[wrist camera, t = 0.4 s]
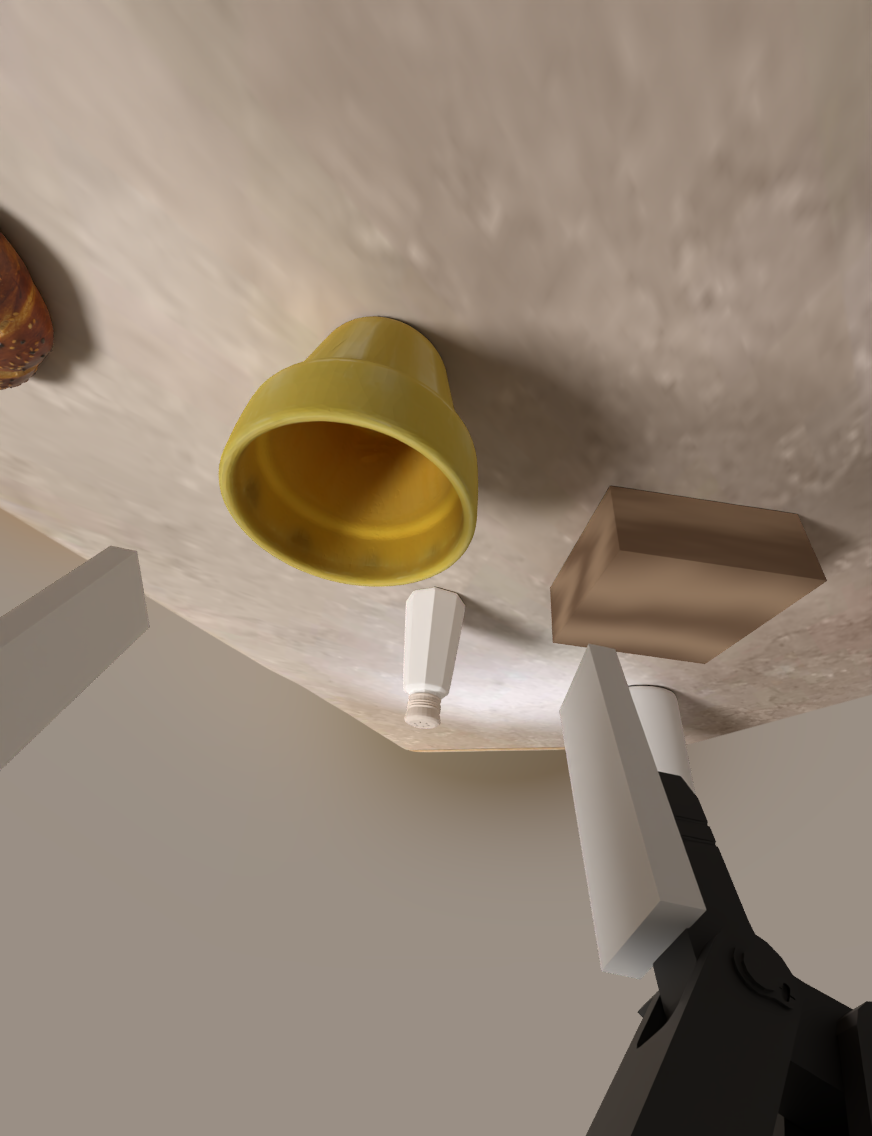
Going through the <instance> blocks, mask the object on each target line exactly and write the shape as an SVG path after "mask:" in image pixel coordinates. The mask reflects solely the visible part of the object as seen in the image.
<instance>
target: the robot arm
mask: <svg viewBox="0 0 872 1136" xmlns="http://www.w3.org/2000/svg"><path fill="white" fill-rule="evenodd" d="M149 627H150V625H149V619H148V614H147V607H146V602H145V596H144V590H143V584H142V578H141V572H140V566H139V560H138V554H137V551H134V550H129V549H124V548H119V547H114V546H110V547H108V548H106V549H105V550H103V551H102V552H100V553H99V554H97V555H96V556H94V557H93V558H91V559H89V560H88V561H86V562H85V563H83V564H82V565H80V566H79V567H77V568H76V569H74V570H73V571H71V572H69V573H68V574H66V575H65V576H64V577H62V578H60V579H59V580H57V581H56V582H54V583H53V584H51V585H50V586H48V587H46V588H45V589H43V590H42V591H40V592H39V593H37V594H36V595H34V596H32V597H31V598H29V599H28V600H26V601H25V602H23V603H22V604H20V605H19V606H17V607H15V608H14V609H12V610H11V611H9V612H8V613H6V614H5V615H3V616H2V617H0V770H1V769H2V768H3V767H4V766H5V765H7V763H9V762H10V761H11V760H12V759H13V758H14V757H15V756H16V755H17V754H18V753H19V752H20V751H21V750H22V749H23V748H24V747H25V746H26V745H27V744H28V743H29V742H31V741H32V739H34V738H35V737H36V735H38V734H39V733H40V732H41V731H42V730H43V729H44V728H45V727H46V726H47V725H48V724H49V723H50V722H51V721H52V720H53V719H54V718H55V717H57V716H58V715H59V714H60V713H61V712H62V711H63V710H64V709H65V708H66V707H67V706H68V705H69V704H70V703H71V702H72V701H73V700H74V699H75V698H76V697H77V696H78V695H79V694H81V693H82V692H83V691H84V690H85V689H86V688H87V687H88V686H89V685H90V684H91V683H92V682H93V681H94V680H95V679H96V678H97V677H98V676H99V675H100V674H101V673H102V672H103V671H104V670H105V669H107V668H108V667H109V665H111V664H112V663H113V662H114V661H115V660H116V659H117V658H118V657H119V656H120V655H121V654H122V653H123V652H124V651H125V650H126V649H127V648H128V647H129V646H131V645H132V644H133V643H134V642H135V641H136V640H137V639H138V638H139V637H140V636H141V635H142V634H143V633H144V632H145V631H146V630H147V629H148V628H149ZM559 713H560V719H561V725H562V731H563V737H564V743H565V749H566V755H567V762H568V768H569V774H570V780H571V786H572V792H573V799H574V805H575V811H576V817H577V823H578V830H579V836H580V842H581V848H582V854H583V860H584V867H585V873H586V879H587V885H588V891H589V897H590V904H591V909H592V915H593V922H594V928H595V934H596V940H597V947H598V952H599V959H600V965H601V971H603V972H608V973H613V974H617V975H623V976H627V977H632V978H637V979H641V978H642V977H643V976H644V975H645V974H646V973H647V972H648V971H649V970H650V969H651V968H652V967H654V971H655V976H656V980H657V984H658V988H659V991H658V992H657V993H656V994H655V995H654V996H653V997H652V998H651V999H650V1000H649V1001H648V1002H646V1003H645V1004H644V1005H643V1007H642V1008H641V1009H640V1010H639V1011H638V1013H639V1014H640V1015H641V1016H642V1017H643V1019H642V1021H641V1023H640V1025H639V1027H638V1029H637V1031H636V1034H635V1036H634V1038H633V1040H632V1042H631V1044H630V1046H629V1048H628V1050H627V1052H626V1054H625V1056H624V1058H623V1060H622V1062H621V1064H620V1067H619V1069H618V1071H617V1073H616V1075H615V1077H614V1079H613V1081H612V1083H611V1085H610V1087H609V1089H608V1091H607V1093H606V1095H605V1097H604V1099H603V1101H602V1104H601V1106H600V1108H599V1110H598V1112H597V1114H596V1116H595V1118H594V1120H593V1122H592V1124H591V1126H590V1128H589V1130H588V1132H587V1135H586V1136H872V1002H865V1003H863V1004H862V1005H860V1006H858V1007H857V1008H855V1009H851V1008H849V1007H847V1006H846V1005H844V1004H842V1003H840V1002H838V1001H836V1000H835V999H833V998H831V997H829V996H827V995H826V994H824V993H822V992H820V991H818V990H817V989H815V988H813V987H811V986H809V985H807V984H805V983H804V982H802V981H801V980H799V979H798V978H796V977H795V976H793V975H792V973H791V972H790V970H789V968H788V967H787V965H786V964H785V962H784V961H783V959H782V958H781V957H780V956H779V954H778V953H777V952H776V951H775V950H773V948H772V947H771V946H770V945H769V944H768V943H767V942H765V941H764V940H763V939H761V938H760V937H758V936H757V935H755V933H754V931H753V929H752V927H751V925H750V923H749V921H748V919H747V916H746V914H745V911H744V909H743V906H742V904H741V902H740V899H739V897H738V894H737V892H736V890H735V887H734V885H733V882H732V880H731V877H730V875H729V872H728V870H727V868H726V865H725V863H724V860H723V858H722V856H721V853H720V851H719V848H718V847H716V845H715V842H716V841H715V838H714V836H713V834H712V831H711V829H710V827H709V826H707V819H706V817H705V814H704V812H703V809H702V807H701V804H700V802H699V800H698V798H697V796H696V795H695V794H694V792H693V791H692V790H691V789H690V787H689V786H688V785H687V783H686V782H685V781H684V779H683V778H682V777H681V776H679V775H674V774H669V773H664V772H659V771H658V770H657V767H656V765H655V762H654V759H653V756H652V753H651V750H650V747H649V745H648V742H647V739H646V736H645V733H644V730H643V727H642V725H641V722H640V719H639V716H638V713H637V710H636V707H635V705H634V702H633V699H632V696H631V693H630V690H629V687H628V685H627V682H626V679H625V676H624V673H623V670H622V667H621V665H620V662H619V659H618V656H617V653H616V650H615V649H612V648H607V647H603V646H598V645H593V644H588V646H587V649H586V651H585V653H584V655H583V658H582V660H581V662H580V665H579V667H578V669H577V672H576V674H575V676H574V678H573V681H572V683H571V685H570V688H569V690H568V692H567V694H566V697H565V699H564V701H563V704H562V706H561V708H560V710H559Z"/></svg>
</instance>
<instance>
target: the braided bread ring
mask: <svg viewBox="0 0 872 1136" xmlns="http://www.w3.org/2000/svg"><path fill="white" fill-rule="evenodd" d="M53 338H54V330H53V327H52V322H51V318H50V315H49V312H48V310H47V307H46V305H45V303H44V301H43V299H42V297H41V295H40V293H39V291H38V290H37V288H36V286H35V285H34V283H33V281H32V279H31V277H30V274H29V272H28V270H27V268H26V266H25V264H24V263H23V261H22V259H21V258H20V257H19V255H18V254H17V252H16V251H15V250H14V248H13V247H12V246H11V244H10V243H9V242H8V240H7V239H6V238H5V237H4V235H3V234H2V233H1V232H0V390H3V389H6V388H9V387H10V388H12V387H16V386H19V385H21V384H22V383H25V382H27V381H28V380H29V378H30V377H31V376H32V375H34V374H36V371H37V366H38V365H39V364H40V363H41V362H42V361H43V360H44V358H45V357H46V356H47V355H48V353H49V352H50V351H52V347H53V345H54V344H53Z"/></svg>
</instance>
